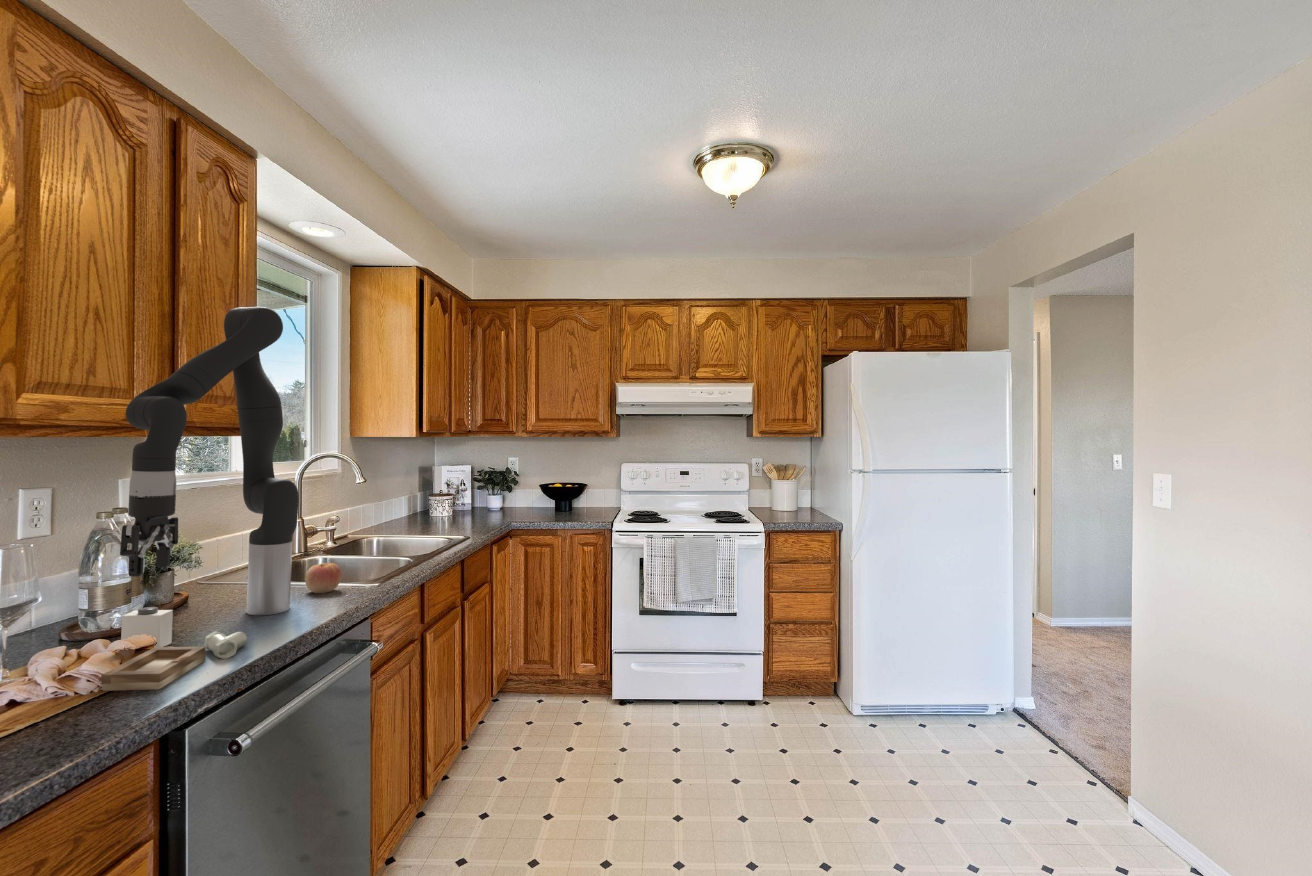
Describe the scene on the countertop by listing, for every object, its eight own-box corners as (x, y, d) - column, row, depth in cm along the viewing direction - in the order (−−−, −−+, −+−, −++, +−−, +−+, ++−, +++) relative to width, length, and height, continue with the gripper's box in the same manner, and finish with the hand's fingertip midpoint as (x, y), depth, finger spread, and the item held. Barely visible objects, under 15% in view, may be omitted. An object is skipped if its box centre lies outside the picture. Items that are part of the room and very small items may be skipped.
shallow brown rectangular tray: (153, 661, 119) (154, 646, 119) (205, 660, 120) (205, 645, 120) (100, 690, 105) (101, 673, 105) (159, 689, 106) (160, 672, 106)
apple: (346, 590, 176) (348, 562, 176) (318, 597, 168) (319, 568, 168) (325, 586, 180) (326, 559, 180) (297, 593, 172) (298, 564, 172)
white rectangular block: (134, 643, 128) (135, 606, 128) (171, 643, 129) (173, 606, 129) (120, 650, 124) (122, 611, 124) (159, 649, 125) (160, 611, 125)
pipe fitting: (241, 646, 131) (203, 651, 125) (243, 627, 131) (205, 631, 126) (254, 655, 125) (215, 661, 120) (257, 636, 126) (218, 641, 121)
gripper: (154, 489, 133) (151, 564, 133) (107, 495, 119) (103, 579, 119) (193, 490, 135) (190, 564, 134) (150, 496, 120) (147, 579, 120)
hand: (149, 571), depth 127 cm, fingers open, 8 cm apart
